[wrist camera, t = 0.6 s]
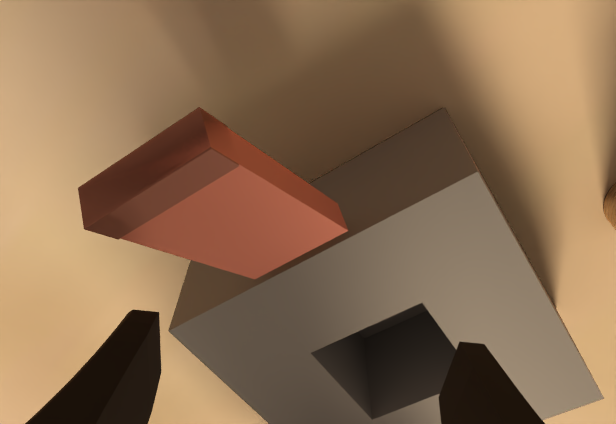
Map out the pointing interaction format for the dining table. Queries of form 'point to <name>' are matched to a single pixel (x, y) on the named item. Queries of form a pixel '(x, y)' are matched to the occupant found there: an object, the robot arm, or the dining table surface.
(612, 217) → the pin
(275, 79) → the dining table surface
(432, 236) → the pin block
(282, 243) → the bar
